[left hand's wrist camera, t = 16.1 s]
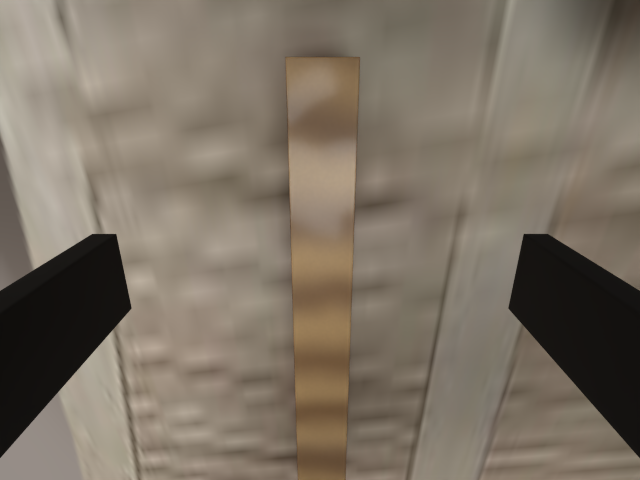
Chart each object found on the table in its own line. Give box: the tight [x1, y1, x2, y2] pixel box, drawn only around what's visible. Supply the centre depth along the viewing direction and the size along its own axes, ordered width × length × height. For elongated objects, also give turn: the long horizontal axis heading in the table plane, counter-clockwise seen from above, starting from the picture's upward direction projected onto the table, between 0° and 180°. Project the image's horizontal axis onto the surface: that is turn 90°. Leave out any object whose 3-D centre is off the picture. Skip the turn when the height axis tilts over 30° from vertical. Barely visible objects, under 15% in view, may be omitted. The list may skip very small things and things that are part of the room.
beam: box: [286, 57, 360, 480], centre depth 42 cm, size 54×6×9 cm, turn 0°
